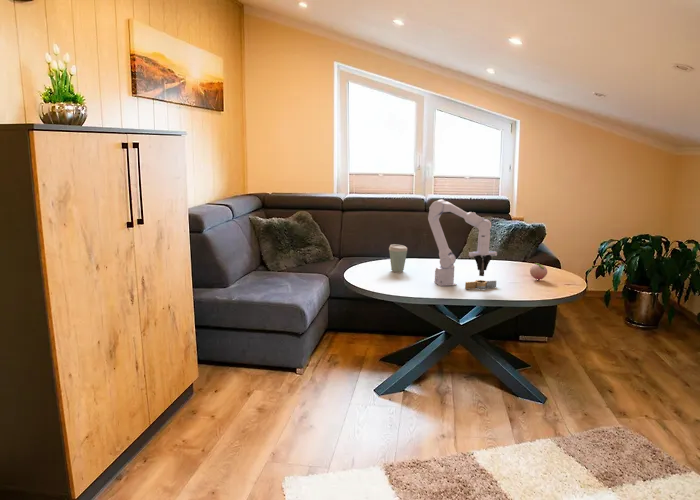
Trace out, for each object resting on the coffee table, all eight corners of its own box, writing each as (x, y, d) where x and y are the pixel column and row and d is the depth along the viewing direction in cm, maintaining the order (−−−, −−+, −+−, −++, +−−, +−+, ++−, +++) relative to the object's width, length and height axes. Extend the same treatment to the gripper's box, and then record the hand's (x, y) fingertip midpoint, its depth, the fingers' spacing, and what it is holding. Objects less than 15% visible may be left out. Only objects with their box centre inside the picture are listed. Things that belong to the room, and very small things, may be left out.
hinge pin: (480, 276, 280) (481, 260, 279) (478, 275, 283) (479, 259, 281) (484, 276, 281) (485, 260, 279) (482, 274, 283) (483, 259, 281)
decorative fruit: (525, 278, 304) (527, 260, 302) (538, 277, 306) (539, 260, 304) (536, 283, 295) (537, 264, 293) (549, 282, 297) (550, 264, 295)
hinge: (467, 290, 278) (468, 283, 278) (463, 287, 284) (463, 280, 283) (498, 288, 282) (498, 282, 282) (493, 285, 288) (493, 279, 287)
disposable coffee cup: (406, 269, 320) (407, 244, 316) (406, 274, 309) (407, 247, 306) (388, 268, 321) (389, 243, 317) (387, 273, 310) (388, 247, 307)
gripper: (473, 245, 273) (472, 272, 276) (500, 244, 276) (498, 271, 279) (467, 242, 280) (466, 269, 282) (493, 242, 283) (492, 267, 286)
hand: (481, 269), depth 281 cm, fingers closed on hinge pin, 2 cm apart
